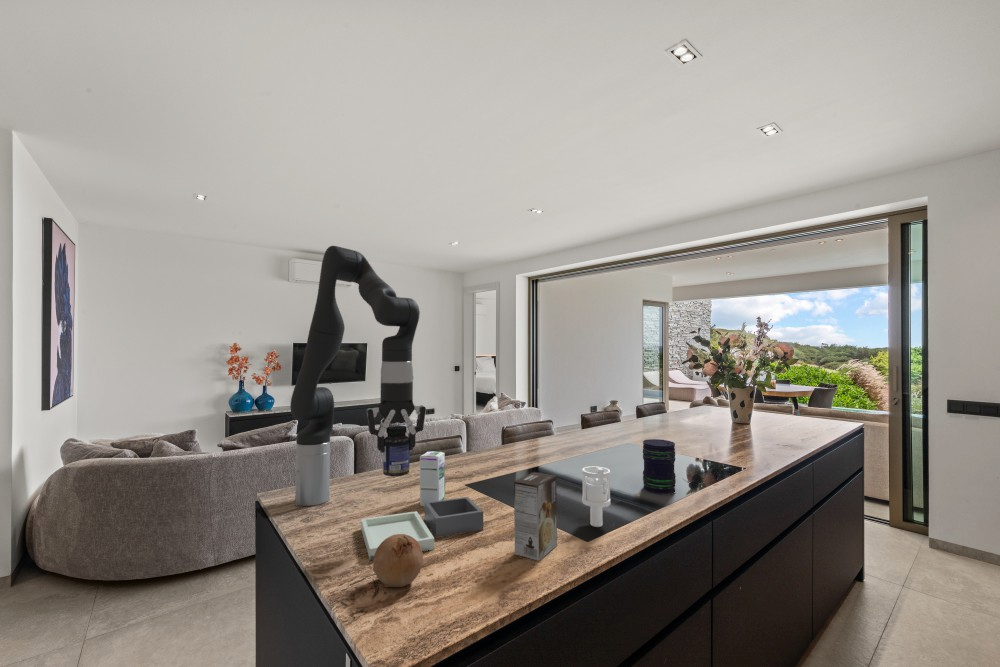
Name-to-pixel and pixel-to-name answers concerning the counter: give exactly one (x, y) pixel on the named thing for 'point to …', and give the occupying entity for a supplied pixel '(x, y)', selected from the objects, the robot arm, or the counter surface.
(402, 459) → the pill bottle
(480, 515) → the holder
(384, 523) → the tray
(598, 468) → the white cylindrical cage part
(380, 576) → the onion
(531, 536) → the coffee box
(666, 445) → the storage jar
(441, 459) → the syrup box
